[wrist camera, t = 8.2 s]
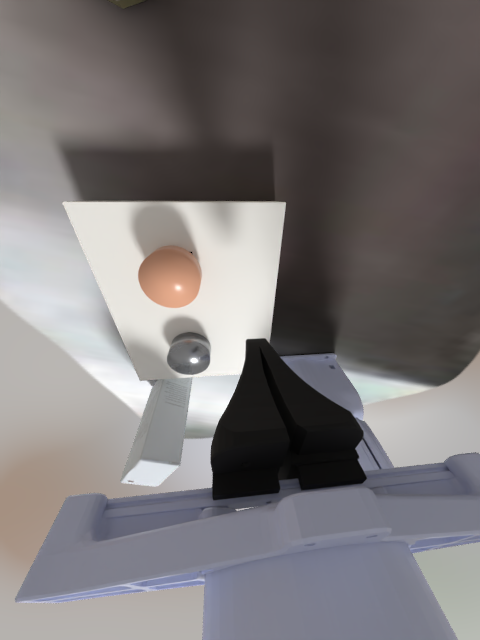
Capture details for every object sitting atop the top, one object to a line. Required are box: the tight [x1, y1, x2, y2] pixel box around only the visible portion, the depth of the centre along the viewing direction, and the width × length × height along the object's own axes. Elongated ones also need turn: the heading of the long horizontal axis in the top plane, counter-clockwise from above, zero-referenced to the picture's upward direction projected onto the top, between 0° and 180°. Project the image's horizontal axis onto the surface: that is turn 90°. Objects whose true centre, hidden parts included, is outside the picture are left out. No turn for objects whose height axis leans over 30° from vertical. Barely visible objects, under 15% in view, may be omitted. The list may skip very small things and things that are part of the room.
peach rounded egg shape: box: [138, 245, 202, 308], centre depth 16 cm, size 4×4×5 cm
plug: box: [167, 332, 211, 375], centre depth 22 cm, size 4×4×5 cm
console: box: [62, 201, 286, 381], centre depth 21 cm, size 16×19×4 cm
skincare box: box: [121, 377, 192, 486], centre depth 24 cm, size 6×4×12 cm
